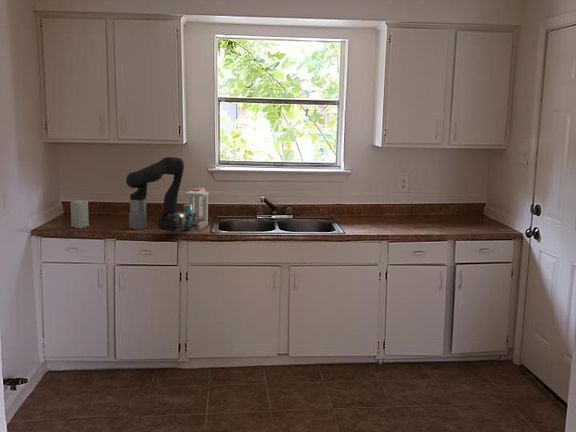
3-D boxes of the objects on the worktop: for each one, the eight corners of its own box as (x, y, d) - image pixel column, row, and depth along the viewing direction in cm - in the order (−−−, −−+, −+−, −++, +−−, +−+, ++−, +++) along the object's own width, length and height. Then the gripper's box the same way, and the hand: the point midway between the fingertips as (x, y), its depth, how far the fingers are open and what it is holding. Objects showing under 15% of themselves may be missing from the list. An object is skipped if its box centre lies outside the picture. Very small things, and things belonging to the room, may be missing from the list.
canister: (188, 229, 342) (188, 205, 339) (181, 228, 344) (181, 204, 342) (194, 228, 346) (194, 204, 344) (187, 227, 349) (187, 204, 346)
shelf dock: (200, 229, 348) (200, 195, 345) (180, 228, 350) (180, 194, 347) (208, 224, 364) (208, 191, 360) (190, 223, 366) (190, 190, 362)
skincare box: (80, 225, 348) (80, 199, 346) (89, 226, 346) (88, 200, 343) (70, 227, 341) (69, 201, 338) (79, 229, 338) (78, 202, 336)
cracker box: (199, 222, 370) (199, 189, 366) (190, 221, 371) (190, 189, 368) (206, 218, 384) (207, 187, 380) (198, 218, 385) (198, 186, 381)
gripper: (191, 213, 328) (201, 208, 345) (167, 211, 330) (178, 207, 347) (191, 226, 329) (201, 221, 346) (167, 224, 332) (178, 219, 348)
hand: (189, 214), depth 346 cm, fingers closed on canister, 5 cm apart
